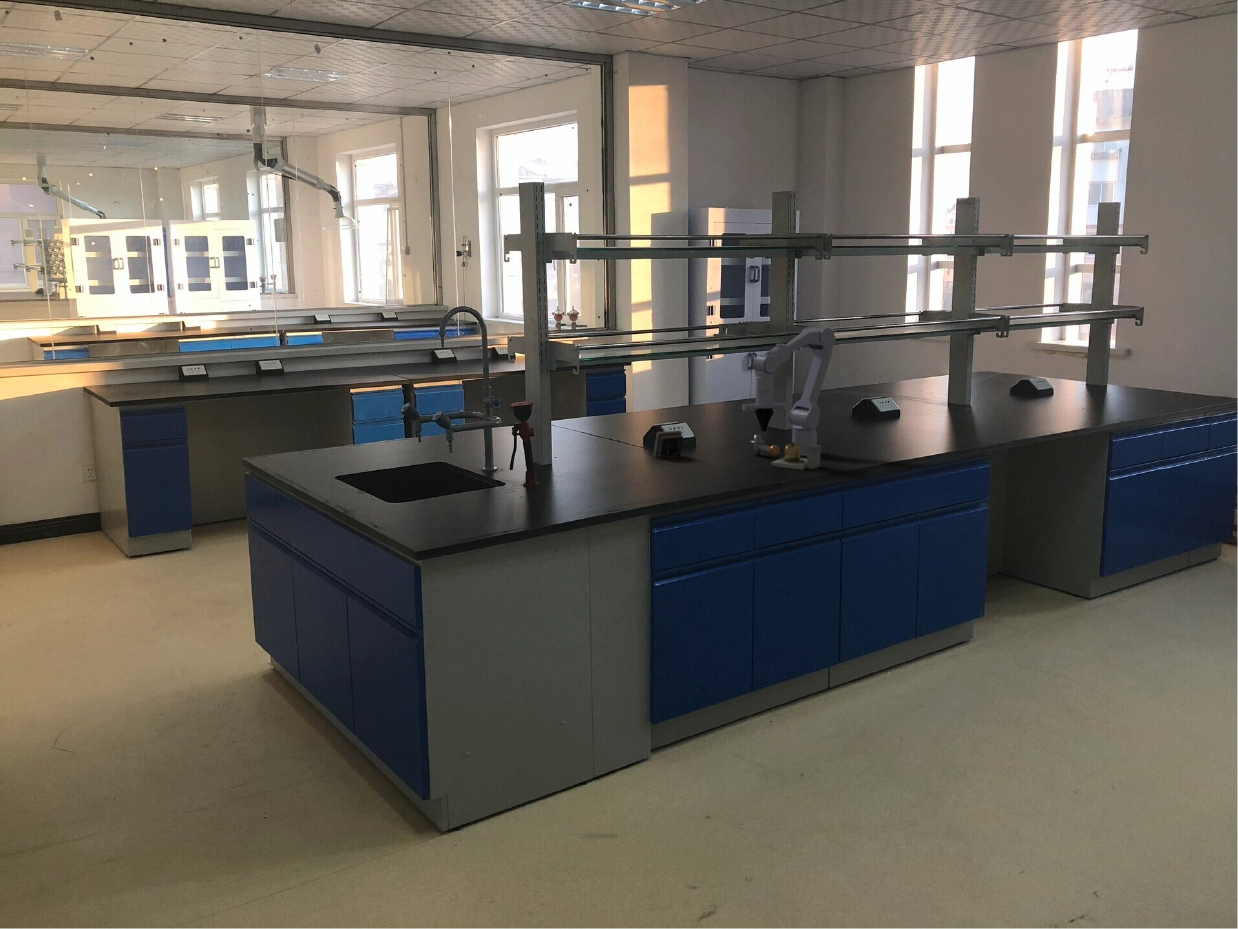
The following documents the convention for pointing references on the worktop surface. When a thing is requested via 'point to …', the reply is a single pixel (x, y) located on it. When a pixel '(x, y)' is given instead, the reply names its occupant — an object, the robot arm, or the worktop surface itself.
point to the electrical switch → (668, 444)
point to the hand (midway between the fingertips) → (763, 431)
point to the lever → (770, 449)
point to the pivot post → (757, 442)
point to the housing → (792, 452)
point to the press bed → (802, 460)
